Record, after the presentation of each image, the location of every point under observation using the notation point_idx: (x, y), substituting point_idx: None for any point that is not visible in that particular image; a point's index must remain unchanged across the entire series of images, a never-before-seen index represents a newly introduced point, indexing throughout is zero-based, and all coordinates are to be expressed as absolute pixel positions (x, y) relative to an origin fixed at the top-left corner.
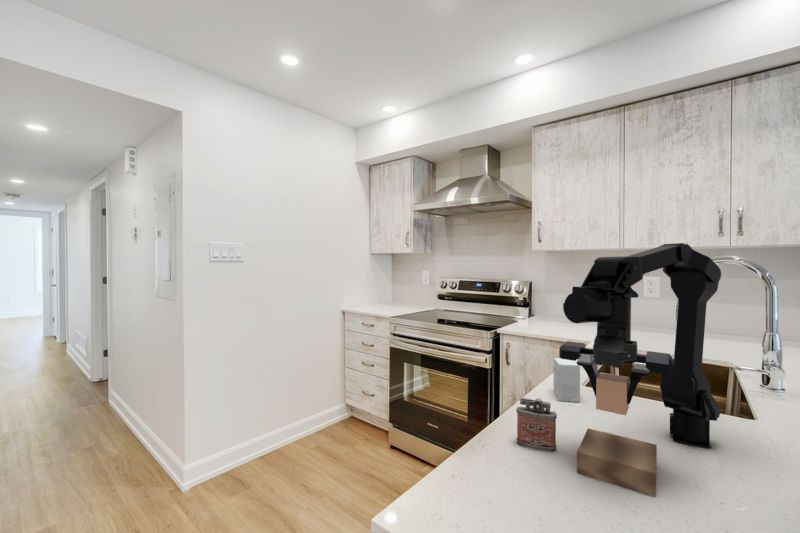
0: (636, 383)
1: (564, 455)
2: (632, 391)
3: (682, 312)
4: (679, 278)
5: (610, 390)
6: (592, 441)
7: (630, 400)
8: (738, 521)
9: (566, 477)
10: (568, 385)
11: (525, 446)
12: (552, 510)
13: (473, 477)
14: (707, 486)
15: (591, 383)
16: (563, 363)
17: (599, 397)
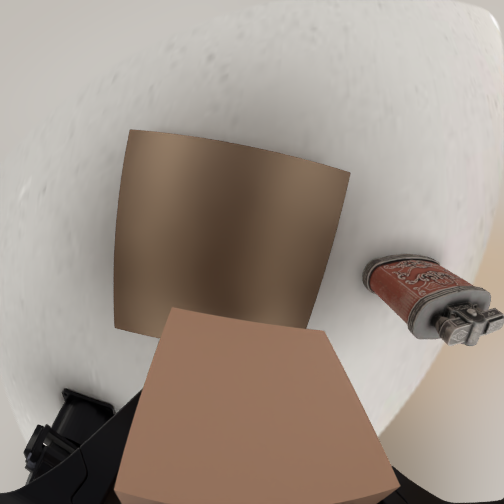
0: (53, 480)
1: (347, 255)
2: (103, 438)
3: None
4: None
5: (269, 429)
6: (295, 272)
7: (135, 397)
8: (37, 137)
9: (350, 141)
10: None
11: (423, 256)
12: (366, 22)
13: (479, 102)
14: (54, 247)
15: None
16: None
17: (329, 377)
